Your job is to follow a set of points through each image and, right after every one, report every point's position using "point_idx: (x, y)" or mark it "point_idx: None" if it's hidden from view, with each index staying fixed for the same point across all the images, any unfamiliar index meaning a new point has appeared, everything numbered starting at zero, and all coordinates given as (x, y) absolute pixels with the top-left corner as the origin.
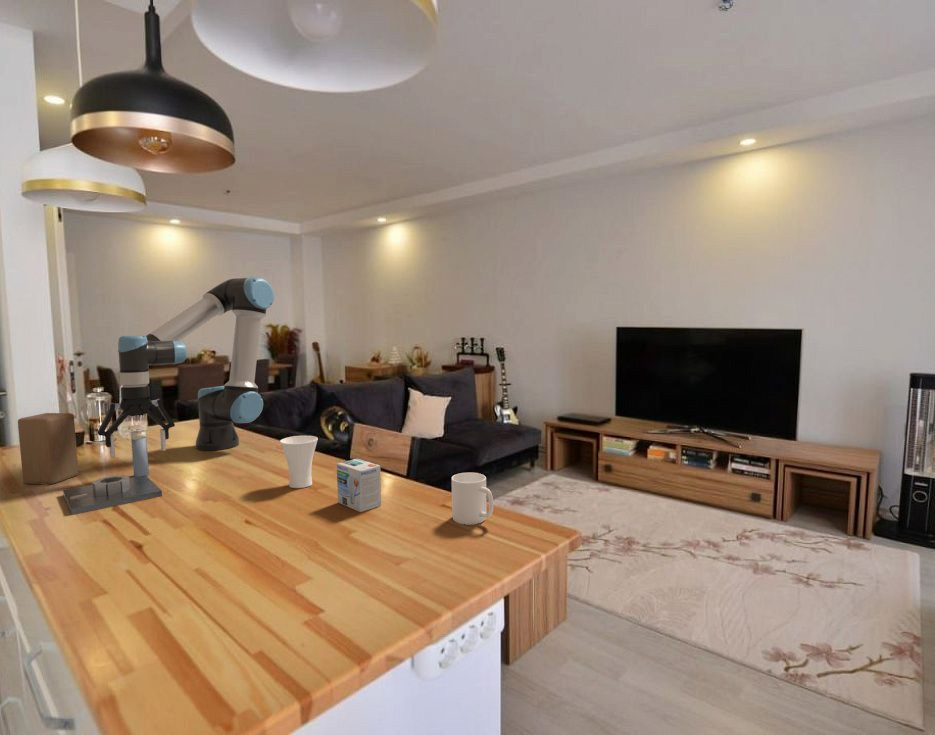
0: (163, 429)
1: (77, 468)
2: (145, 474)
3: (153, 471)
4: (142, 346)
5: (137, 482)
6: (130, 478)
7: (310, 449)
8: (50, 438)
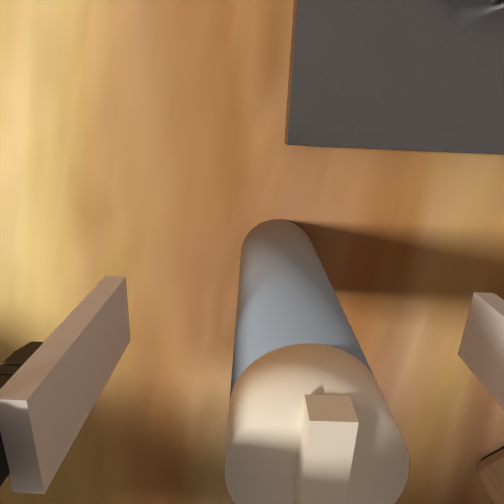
0: (6, 456)
1: (496, 488)
2: (265, 224)
3: (207, 297)
4: None
5: None
6: (374, 134)
7: None
8: None
